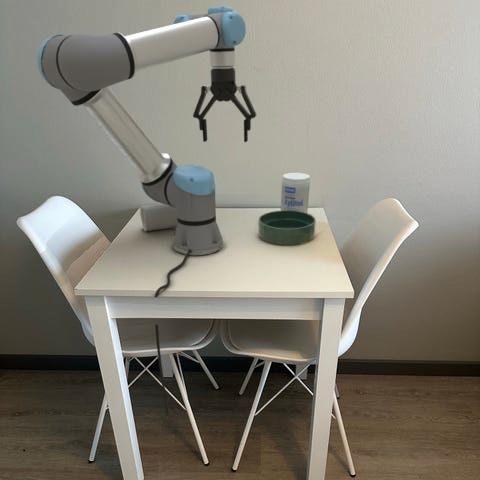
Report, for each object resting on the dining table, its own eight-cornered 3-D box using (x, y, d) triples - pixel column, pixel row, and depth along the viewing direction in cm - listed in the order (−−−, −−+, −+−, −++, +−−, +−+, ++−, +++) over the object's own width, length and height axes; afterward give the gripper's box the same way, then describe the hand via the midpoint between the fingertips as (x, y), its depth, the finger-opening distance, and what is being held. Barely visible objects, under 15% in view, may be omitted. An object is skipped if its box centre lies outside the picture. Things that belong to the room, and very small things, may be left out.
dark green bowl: (322, 243, 145) (323, 226, 143) (265, 248, 143) (265, 231, 140) (304, 224, 161) (305, 208, 158) (253, 228, 158) (253, 212, 155)
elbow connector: (189, 232, 152) (202, 213, 169) (180, 201, 147) (194, 184, 164) (140, 241, 156) (157, 221, 173) (129, 211, 151) (148, 194, 168)
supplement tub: (282, 222, 163) (284, 179, 155) (278, 213, 171) (279, 172, 163) (310, 221, 163) (312, 178, 156) (304, 212, 172) (307, 171, 164)
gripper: (265, 66, 144) (264, 139, 155) (186, 67, 147) (191, 138, 158) (261, 67, 137) (261, 143, 148) (179, 69, 141) (185, 142, 152)
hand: (225, 141), depth 153 cm, fingers open, 13 cm apart
